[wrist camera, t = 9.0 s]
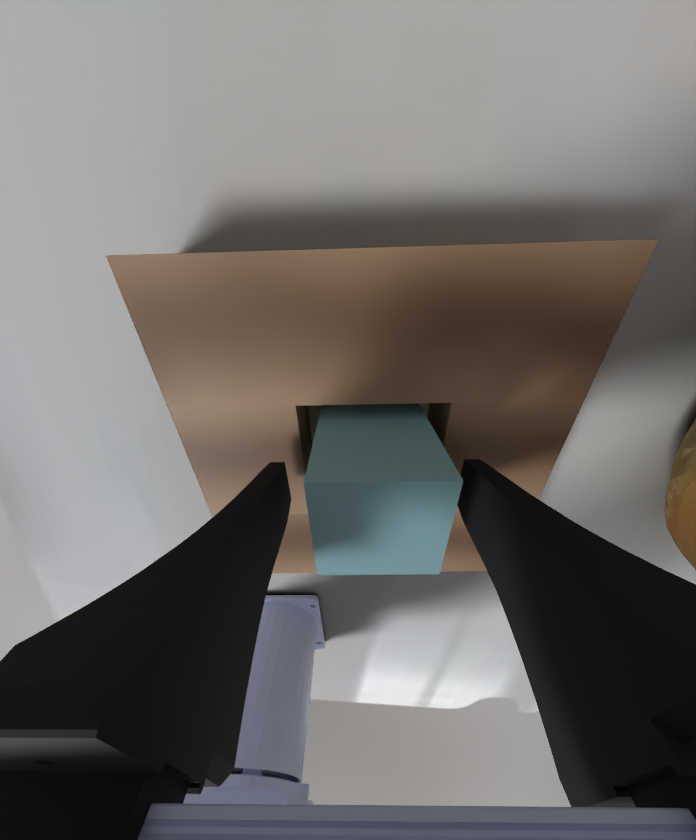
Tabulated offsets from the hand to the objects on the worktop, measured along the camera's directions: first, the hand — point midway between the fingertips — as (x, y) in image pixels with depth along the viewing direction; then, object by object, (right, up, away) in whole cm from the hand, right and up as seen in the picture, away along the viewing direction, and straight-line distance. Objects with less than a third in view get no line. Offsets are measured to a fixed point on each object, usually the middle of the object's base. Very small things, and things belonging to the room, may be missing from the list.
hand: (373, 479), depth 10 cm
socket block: (0, +2, +3) cm, 4 cm away
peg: (0, +2, +3) cm, 3 cm away
